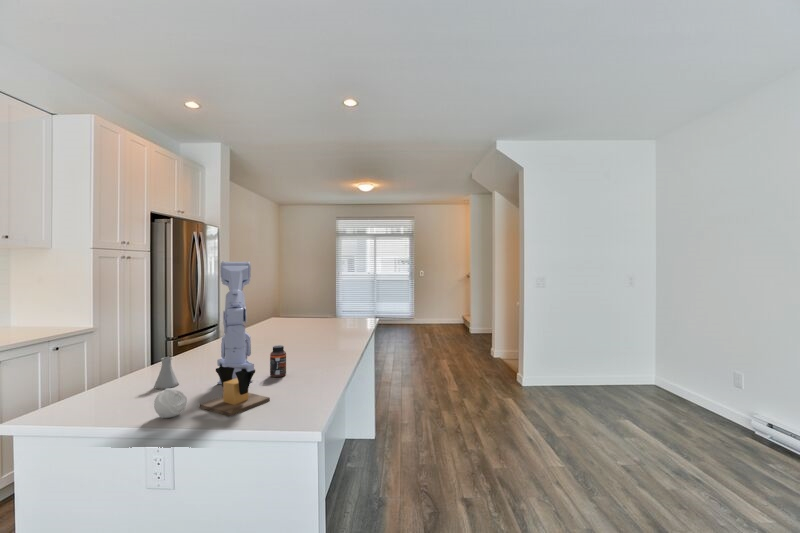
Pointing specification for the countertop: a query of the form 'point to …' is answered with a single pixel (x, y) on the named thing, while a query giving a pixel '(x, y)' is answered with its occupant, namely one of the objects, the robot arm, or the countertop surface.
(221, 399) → the flat brown square board
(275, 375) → the supplement bottle
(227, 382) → the golden yellow cube
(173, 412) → the white ridged ball
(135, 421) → the countertop surface
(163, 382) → the flask
